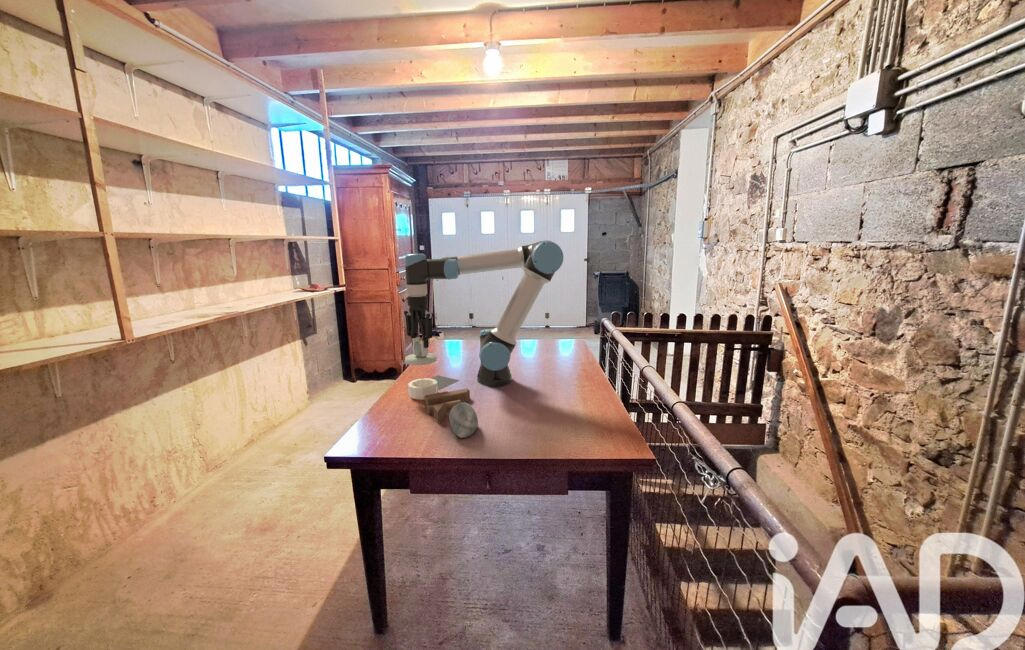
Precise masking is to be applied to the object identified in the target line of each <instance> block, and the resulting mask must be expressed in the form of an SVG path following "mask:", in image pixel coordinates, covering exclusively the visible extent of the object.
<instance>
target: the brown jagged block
mask: <svg viewBox="0 0 1025 650" xmlns="http://www.w3.org/2000/svg"><path fill="white" fill-rule="evenodd" d="M470 399H471V392H470V389H469V388H468V387H467V388H461V389H457V390H451V391H442V392H438V393H436V394H430V395H425V399H424V407H425V409H426V411H427V414H428V415H429V416H431V415H433V418H434V420H435V421H436V423H437V424H440V423H441V422H442V421H443V420H444V419H445V418H446V417H447V416H448V412H450V411H451V409H452V408H453V406H455V405H456V404H458V403H460V402H465V403H468V402H469V400H470Z"/></svg>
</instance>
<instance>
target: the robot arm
mask: <svg viewBox="0 0 1025 650" xmlns="http://www.w3.org/2000/svg"><path fill="white" fill-rule="evenodd" d="M404 257H405V258H404V260H405V261H404V262H405V263H404V264H405V265H404V269H405V281H406V295H407V297H406V298H407V300H406V301H407V306H408V307H409V308H408V309H407V310H404V312H403V313H404V317H405V324H406V325H405V326H406V336H408V337H410V338H411V346H412V354H413V355H416V353H415V343H417V342H421V350H422V357H424V356H427V355H428V353H429V345H430V344H429V341H430V340H429V339H433V338H434V337H433V336H434V335H433V318H434V313H433V312H430V311H428V305H429V300H428V299H429V298H428V295H427V294H428V282H427V281H428V280H456V279H458V278H459V276H461V275H469V274H470V275H471V274H477V273H485V272H487V273H488V272H493V271H502V270H509V269H512V270H513V269H520V268H521V270H523V272H524V273H523V275H522V277H521V279H520V281H519V283H518V285H517V287H516V289H515V290H514V293H513V294H512V296H511V298H510V300H509V302H508V304H507V305H506V307H505V310H504V311H503V313H502V314H501V317H500V318H499V321H498V323H497V324H496V326H495V328H487V329H486V328H485V329H481V330H480V331H479V353H478V354H479V355H478V356H479V360H480V365H479V368H478V371H477V375H476V382H477V383H478V384H480V385H483V386H486V387H502V386H505V385H509V384H510V383H511V382H512V378H513V377H512V373H511V369H510V368H509V363H510V361H511V355H512V353H513V351H514V349H515V347H516V345H517V340H516V337H517V336H518V333H519V332H520V329H521V327H522V326H523V324H524V323H525V321H526V319H527V317H528V315H529V313H530V311H531V309H532V307H533V305H534V304H535V302H536V300H537V298H538V297H539V295H540V292H541V291H542V289H543V287H544V285H545V284H548V283H550V282H551V281H552V279H553V276H554V275H555V273H556V272H557V271H558V270H560V268H561V267H562V265H563V262H564V252H563V250H562V248H561V246H560V245H558V244H557V243H556V242H553V241H552V240H542V241H537V242H535V243H532V244H527V245H520V246H519V248H514V249H509V250H508V249H506V250H499V251H491V252H490V251H489V252H483V253H476V254H475V253H474V254H467V255H458V256H449V257H448V256H447V257H446V256H445V257H442V258H437V259H436V258H433V259H431V258H427V257H426V254H424V253H408V254H406V255H405V256H404ZM419 327H420V332H421V340H420V337H419V335H418V330H419Z"/></svg>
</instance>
